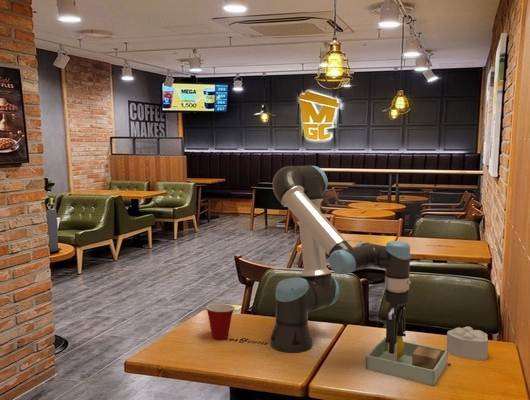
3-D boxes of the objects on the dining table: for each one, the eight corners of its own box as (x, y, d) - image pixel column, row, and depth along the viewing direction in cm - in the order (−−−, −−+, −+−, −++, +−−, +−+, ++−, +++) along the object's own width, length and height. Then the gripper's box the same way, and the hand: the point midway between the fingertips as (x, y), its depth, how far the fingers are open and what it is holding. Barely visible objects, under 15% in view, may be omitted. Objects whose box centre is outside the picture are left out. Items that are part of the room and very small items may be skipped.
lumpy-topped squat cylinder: (487, 363, 164) (488, 338, 163) (445, 357, 169) (446, 332, 168) (486, 351, 173) (487, 327, 173) (446, 346, 178) (447, 322, 177)
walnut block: (411, 372, 156) (412, 353, 155) (417, 363, 162) (418, 346, 161) (434, 377, 152) (435, 358, 152) (439, 369, 158) (440, 350, 157)
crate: (365, 370, 158) (366, 355, 158) (384, 351, 173) (384, 337, 173) (433, 387, 147) (434, 371, 146) (447, 365, 162) (447, 350, 162)
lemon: (405, 363, 159) (405, 339, 158) (387, 362, 160) (387, 338, 159) (403, 356, 164) (404, 333, 163) (386, 355, 165) (387, 332, 164)
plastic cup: (240, 335, 188) (240, 304, 187) (223, 344, 179) (223, 312, 178) (218, 329, 194) (217, 300, 192) (200, 338, 185) (199, 307, 183)
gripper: (400, 298, 150) (397, 372, 152) (416, 284, 166) (414, 351, 168) (376, 294, 154) (374, 366, 156) (394, 281, 170) (392, 346, 172)
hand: (395, 358), depth 162 cm, fingers closed on lemon, 5 cm apart
